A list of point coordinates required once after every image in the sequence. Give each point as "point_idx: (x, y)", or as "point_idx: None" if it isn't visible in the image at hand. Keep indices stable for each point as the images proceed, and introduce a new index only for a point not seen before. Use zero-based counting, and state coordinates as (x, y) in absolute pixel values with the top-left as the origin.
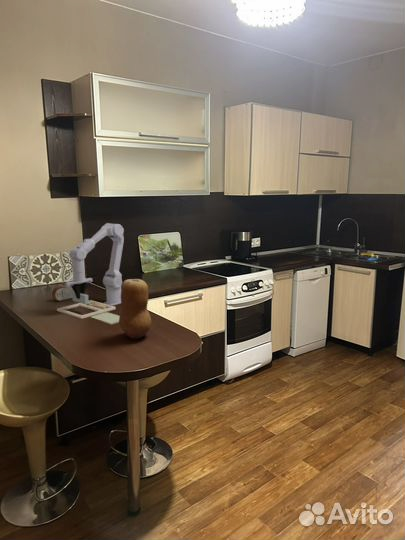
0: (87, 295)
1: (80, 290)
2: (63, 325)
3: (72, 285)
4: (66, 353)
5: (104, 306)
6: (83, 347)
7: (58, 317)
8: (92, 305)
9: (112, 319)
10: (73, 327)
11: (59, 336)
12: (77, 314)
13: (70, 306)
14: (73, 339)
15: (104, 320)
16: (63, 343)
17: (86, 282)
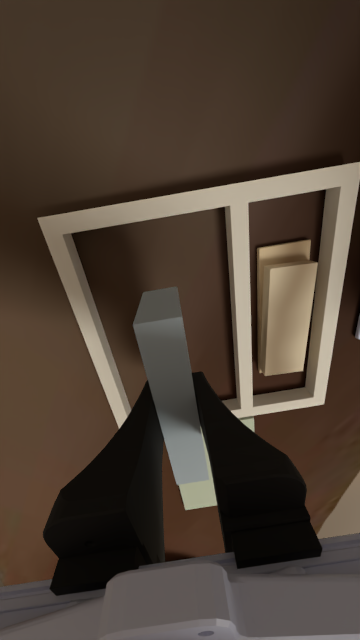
0: (202, 479)
1: (203, 419)
2: (37, 445)
3: (48, 592)
4: (9, 577)
5: (295, 370)
6: (53, 570)
7: (35, 342)
8: (267, 310)
9: (211, 488)
10: (68, 475)
11: (6, 511)
12: (119, 405)
13: (150, 218)
14: (42, 537)
15: (184, 485)
16: (11, 545)
17: (324, 554)
